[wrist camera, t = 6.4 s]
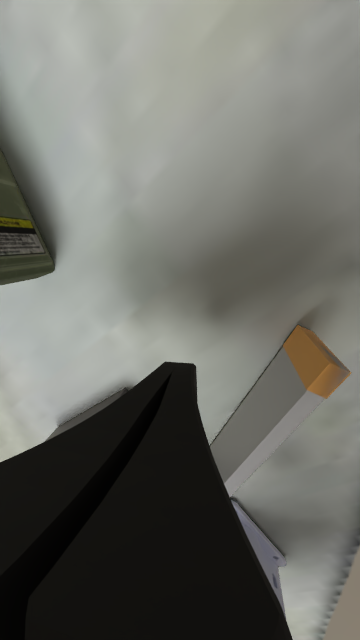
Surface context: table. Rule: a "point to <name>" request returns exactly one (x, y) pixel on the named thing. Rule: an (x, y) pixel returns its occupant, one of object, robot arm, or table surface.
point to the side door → (276, 406)
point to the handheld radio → (19, 235)
